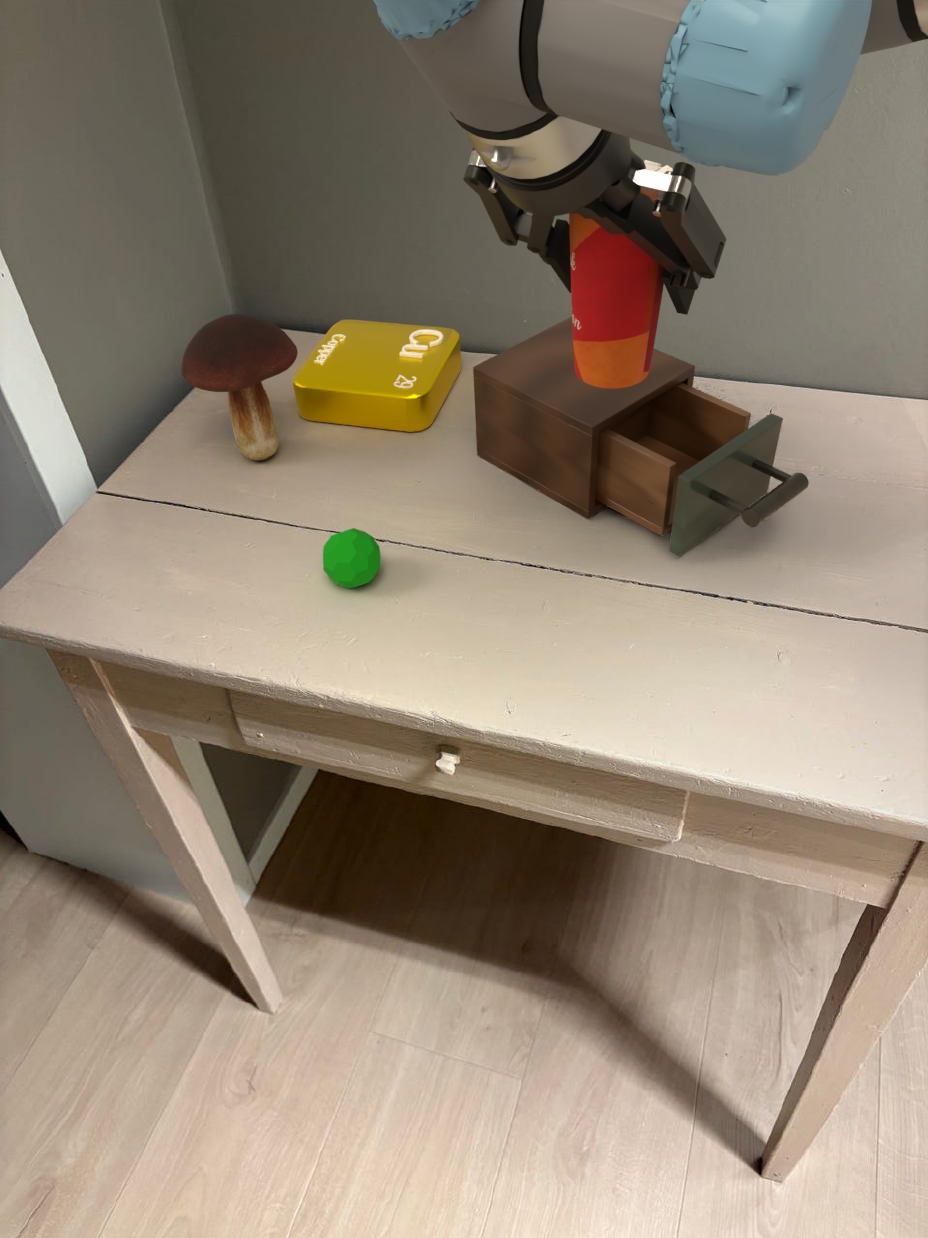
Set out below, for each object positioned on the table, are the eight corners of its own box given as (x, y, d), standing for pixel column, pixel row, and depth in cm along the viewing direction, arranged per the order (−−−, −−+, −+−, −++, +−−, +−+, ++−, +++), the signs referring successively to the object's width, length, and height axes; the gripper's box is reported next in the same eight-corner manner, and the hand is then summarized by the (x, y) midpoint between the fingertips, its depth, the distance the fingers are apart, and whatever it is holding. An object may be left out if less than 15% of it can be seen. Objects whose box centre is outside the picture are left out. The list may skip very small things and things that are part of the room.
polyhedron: (386, 594, 81) (379, 551, 78) (328, 602, 81) (319, 559, 77) (380, 556, 85) (374, 514, 81) (325, 564, 84) (316, 521, 81)
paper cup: (604, 334, 76) (614, 146, 66) (684, 366, 72) (708, 170, 62) (537, 373, 72) (538, 179, 62) (619, 409, 68) (633, 207, 58)
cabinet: (683, 456, 93) (695, 365, 87) (587, 519, 87) (592, 427, 80) (572, 401, 102) (574, 314, 95) (476, 455, 95) (472, 366, 88)
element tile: (342, 351, 112) (336, 312, 109) (466, 362, 108) (464, 323, 105) (292, 420, 102) (284, 379, 98) (427, 435, 98) (423, 394, 95)
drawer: (815, 516, 84) (835, 440, 79) (728, 585, 78) (743, 508, 73) (650, 435, 95) (657, 363, 89) (562, 491, 89) (564, 417, 83)
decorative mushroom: (222, 499, 92) (182, 358, 82) (196, 443, 99) (156, 306, 89) (330, 468, 95) (304, 327, 85) (297, 415, 102) (270, 279, 92)
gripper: (352, 161, 53) (492, 310, 74) (715, 213, 46) (755, 362, 67) (392, 27, 53) (521, 215, 74) (764, 57, 45) (789, 257, 66)
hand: (632, 285), depth 70 cm, fingers closed on paper cup, 8 cm apart
